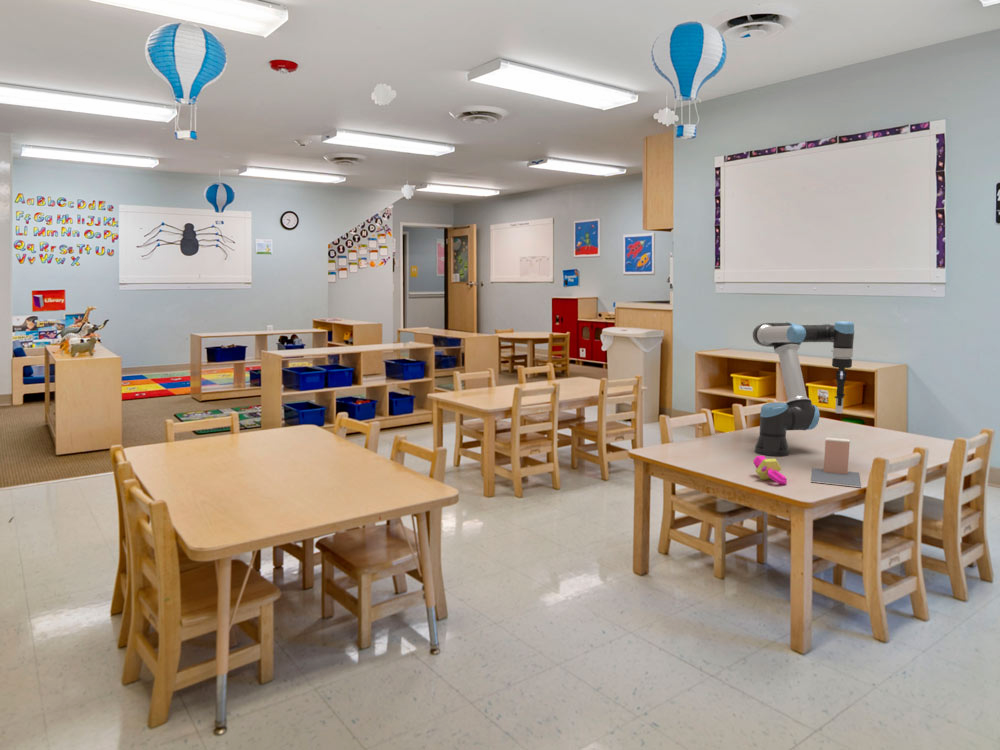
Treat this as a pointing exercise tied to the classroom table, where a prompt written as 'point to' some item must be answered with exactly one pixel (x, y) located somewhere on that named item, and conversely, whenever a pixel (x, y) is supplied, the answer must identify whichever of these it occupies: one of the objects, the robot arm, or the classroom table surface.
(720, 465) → the classroom table surface
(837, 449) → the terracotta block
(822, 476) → the slate mat
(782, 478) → the toy
